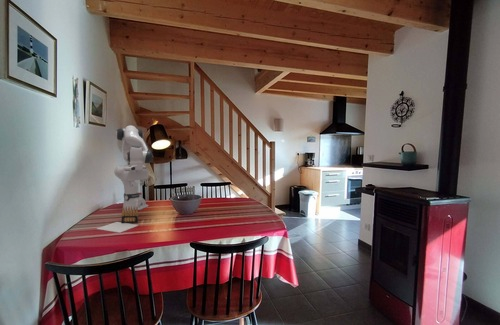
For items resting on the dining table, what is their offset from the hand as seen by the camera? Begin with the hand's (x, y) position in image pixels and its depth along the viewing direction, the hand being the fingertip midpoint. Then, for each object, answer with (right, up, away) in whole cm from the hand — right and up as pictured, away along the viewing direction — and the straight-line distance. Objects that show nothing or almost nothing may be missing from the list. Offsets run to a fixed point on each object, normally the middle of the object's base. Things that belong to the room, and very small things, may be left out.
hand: (136, 186), depth 177 cm
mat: (-6, -27, -15) cm, 31 cm away
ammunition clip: (-3, -26, -5) cm, 27 cm away
